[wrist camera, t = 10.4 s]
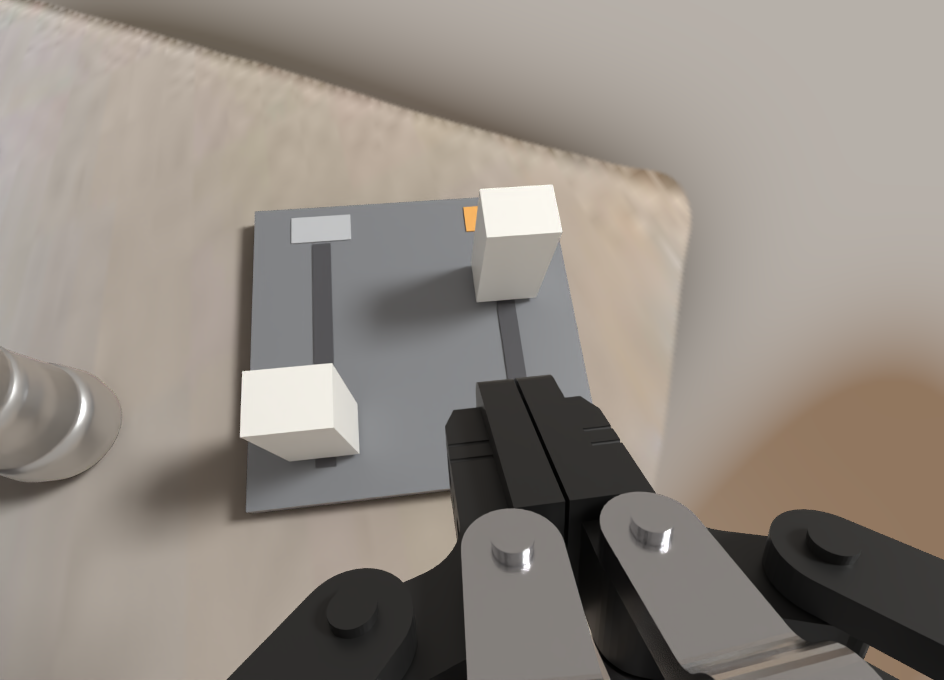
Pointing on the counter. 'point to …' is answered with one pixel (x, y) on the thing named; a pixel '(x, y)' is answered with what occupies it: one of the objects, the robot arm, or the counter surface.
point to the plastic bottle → (52, 419)
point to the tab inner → (299, 412)
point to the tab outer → (514, 241)
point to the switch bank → (392, 339)
